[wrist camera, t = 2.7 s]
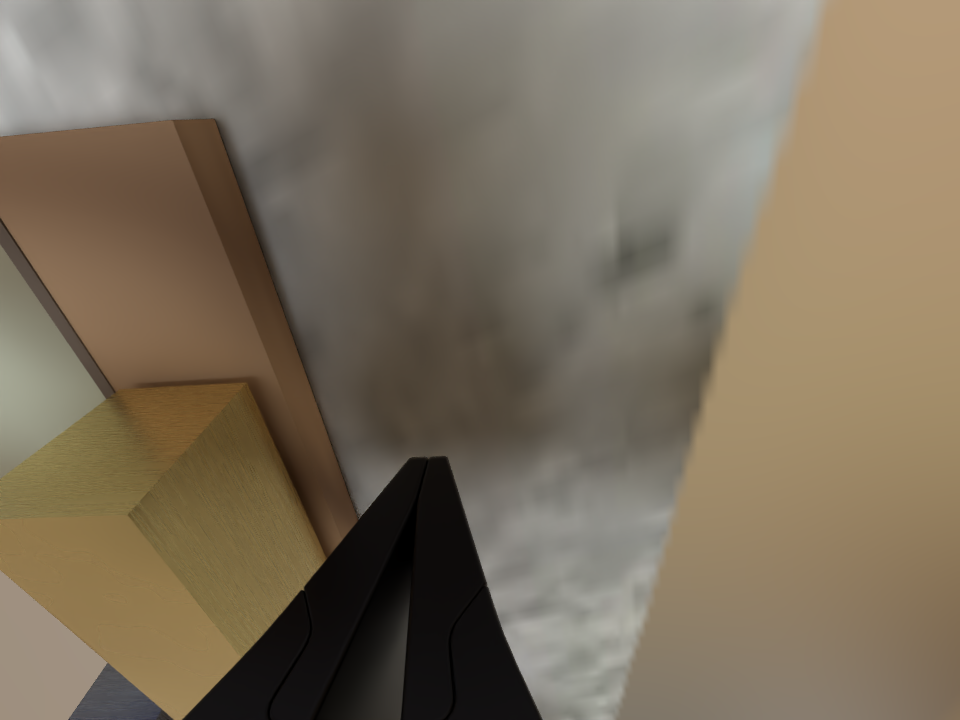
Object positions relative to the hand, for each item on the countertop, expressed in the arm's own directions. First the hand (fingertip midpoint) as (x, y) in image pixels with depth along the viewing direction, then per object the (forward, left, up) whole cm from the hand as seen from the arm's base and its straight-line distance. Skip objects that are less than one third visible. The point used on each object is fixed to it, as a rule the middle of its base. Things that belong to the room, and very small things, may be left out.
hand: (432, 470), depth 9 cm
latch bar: (-3, +5, -1) cm, 6 cm away
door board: (-2, +8, -2) cm, 9 cm away
